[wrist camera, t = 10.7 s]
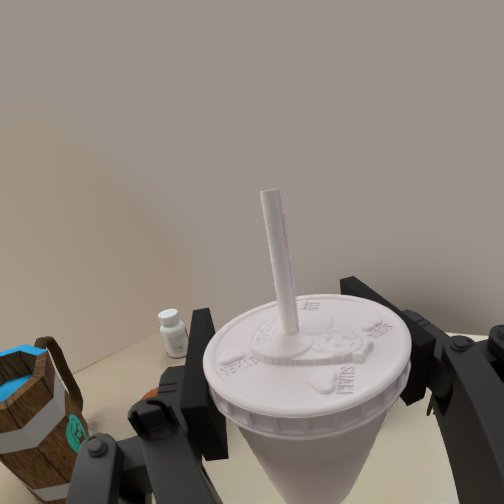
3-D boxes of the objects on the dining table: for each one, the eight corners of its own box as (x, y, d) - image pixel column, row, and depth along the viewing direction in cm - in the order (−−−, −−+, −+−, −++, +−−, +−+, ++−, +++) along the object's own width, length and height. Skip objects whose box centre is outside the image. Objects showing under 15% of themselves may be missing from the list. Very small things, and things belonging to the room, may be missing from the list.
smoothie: (302, 426, 15) (268, 184, 12) (398, 459, 11) (431, 171, 7) (228, 496, 11) (117, 221, 7) (333, 554, 6) (360, 203, 3)
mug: (109, 522, 15) (12, 426, 11) (19, 502, 13) (-64, 408, 9) (128, 407, 34) (86, 315, 30) (56, 409, 32) (12, 327, 28)
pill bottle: (197, 347, 48) (185, 308, 46) (181, 360, 45) (167, 321, 43) (179, 343, 51) (167, 306, 49) (163, 355, 47) (150, 317, 45)
